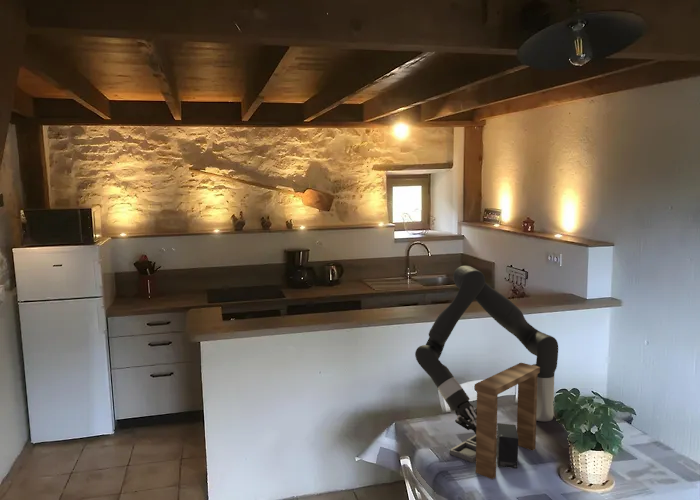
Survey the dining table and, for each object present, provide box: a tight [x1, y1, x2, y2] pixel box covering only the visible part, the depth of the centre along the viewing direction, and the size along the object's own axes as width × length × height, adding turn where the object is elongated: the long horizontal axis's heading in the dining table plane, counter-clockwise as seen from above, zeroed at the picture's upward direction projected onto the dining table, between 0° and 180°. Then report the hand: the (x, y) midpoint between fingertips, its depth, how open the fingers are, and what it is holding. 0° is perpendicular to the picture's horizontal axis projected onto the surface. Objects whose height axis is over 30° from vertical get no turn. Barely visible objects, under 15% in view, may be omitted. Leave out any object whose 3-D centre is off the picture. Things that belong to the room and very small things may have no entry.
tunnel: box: [474, 362, 540, 480], centre depth 182 cm, size 29×7×29 cm, turn 135°
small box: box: [496, 422, 519, 469], centre depth 183 cm, size 11×6×10 cm, turn 168°
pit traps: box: [449, 434, 476, 464], centre depth 192 cm, size 19×9×2 cm, turn 135°
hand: (483, 437), depth 189 cm, fingers closed
